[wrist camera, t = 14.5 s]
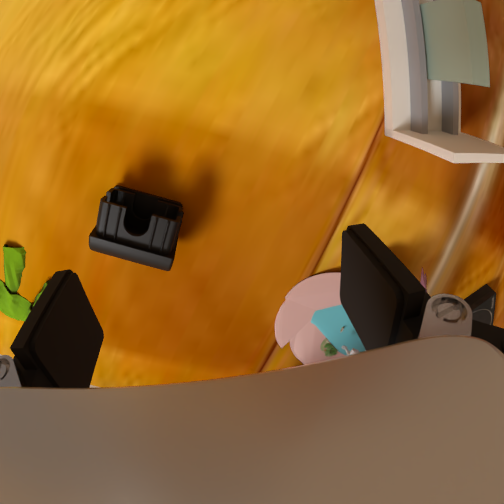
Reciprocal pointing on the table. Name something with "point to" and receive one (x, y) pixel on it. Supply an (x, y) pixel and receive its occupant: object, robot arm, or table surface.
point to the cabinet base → (422, 91)
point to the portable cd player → (482, 304)
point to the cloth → (14, 285)
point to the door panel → (455, 41)
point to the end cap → (137, 227)
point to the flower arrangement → (318, 320)
